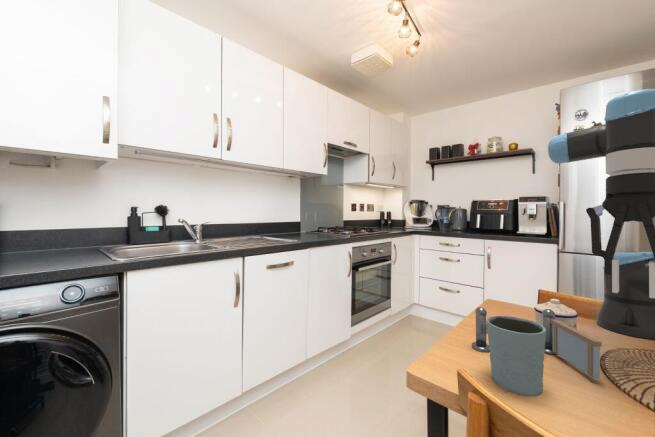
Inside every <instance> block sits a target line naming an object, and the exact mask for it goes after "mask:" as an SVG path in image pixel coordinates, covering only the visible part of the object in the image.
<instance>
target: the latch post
mask: <svg viewBox="0 0 655 437" xmlns="http://www.w3.org/2000/svg"><path fill="white" fill-rule="evenodd" d="M474 312H475V341H474V342H471V348H472V349H474V350H475V351H478V352H480V353H490V350H489V343H487V335H488V329H487V315H488V313H487V310H486V308H484V307H482V306H478V307H477V308H476V309H475V311H474Z"/></svg>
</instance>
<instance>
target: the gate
mask: <svg viewBox="0 0 655 437" xmlns="http://www.w3.org/2000/svg"><path fill="white" fill-rule="evenodd" d="M551 324H553V352H554V353H556V354H558V355H557V356H559V357H561V358H562V359H564V360H565V361H566V362H568V363H570V364H571V365H573V366H575V367H576V368H577V369H579V370H580V371H582V372H583V373H584V374H586V375H587V376H589V378H593V379H594V380H601V352H600V351H601V348H602V347H603V346H602V345H603V344H602V343H603V342H602V341H601V340H600V339H599V340H598V339H596V338H595V337H593V336H591V335H589V334H586V333H585V332H582V331H580V330H579V329H578V328H577V329H575V328H573V327H571V326H569V325H567V324H565V323H563V322H561V321H559V320H552V319H551Z"/></svg>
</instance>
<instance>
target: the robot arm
mask: <svg viewBox="0 0 655 437" xmlns="http://www.w3.org/2000/svg"><path fill="white" fill-rule="evenodd" d="M605 106H606V107H605V115H604V118H603V120H604V121H605V123H604V124H601V125H597V126H592V127H587V128H583V129H578V130H574V131H570V132H564V133H562V134H558V135H555V136H553V137H552V138H550V140H549V141H548V144H547V153H548V157H549V158H550V161H552V162H553V163H554V164H565V163H567V164H568V163H573V162H580V161H586V160H592V159H597V158H603V157H604V158H605V174H606V175H608V176H607V177H606V178H605V199H604V201H603V202H602V203H601V204H599V205H596V206H593V207H587V208H586V210H585V212H586V214H587V215H588V217H589V218H590V238H591V253H592V254H593V255H595V256H599V257H601V258H603V260H604V261H603V262H604V263H603V264H604V265H603V266H602V269H603V292H604V293H603V301H602V304H601V306H600V309H599V310H598V313H597V314H596V325H599V326H600V327H602V328H604V329H606V330H609V331H611V332H615V333H619V334H622V335H626V336H632V337H635V338H642V339H648V340H649V339H650V340H651V339H652V340H655V223H654V220H653V219H654V218H655V88H646V89H645V88H644V89H638V90H634V91H629V92H625V93H622V94H620V95H617V96H615V97H613V98H612V99H610V100H609V101H608V102H607V103H606V105H605ZM604 210H605V211H606V212H607V213H609V214H610V216H612V217H613V219H614V220H613V224H612V227H611V231H610V235H609V237H608V242H607V244H606V248H605V250H604V249H602V247H603V246H602V228H601V227H602V226H601V218H600V217H601V216H602V215H603V214H604V213H603V211H604ZM626 222H627V223H629V222H639V223H642V224H643V228H644V230H645V234H646V236H647V239H648V243H649V246H650V248H651V251H634V252H633V251H631V252H630V251H629V252H628V251H627V252H616V251H617V250H616V249H617V248H618V247H617V246H618V243H619V240H620V237H621V233H622V231H623V228H624V225H625V223H626Z"/></svg>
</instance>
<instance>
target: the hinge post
mask: <svg viewBox="0 0 655 437" xmlns="http://www.w3.org/2000/svg"><path fill="white" fill-rule="evenodd" d="M542 315H543V327H544V328H545V329H546V339H545V353H544V354H547V355H549V356H550V355H551V356H559V355H558V354H556V353H554V352H553V324H551V319H552V320H555V313H554V312H553V311H552V310H550V309H545V310H543V311H542Z"/></svg>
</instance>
